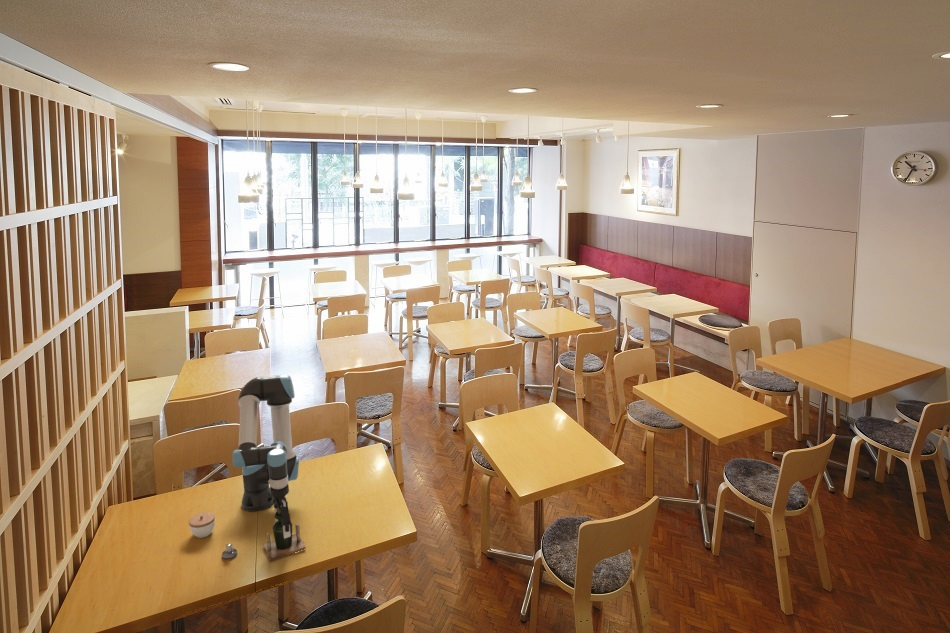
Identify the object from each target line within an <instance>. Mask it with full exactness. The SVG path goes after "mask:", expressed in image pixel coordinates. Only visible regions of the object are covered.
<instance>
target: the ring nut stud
mask: <svg viewBox="0 0 950 633" xmlns="http://www.w3.org/2000/svg"><path fill="white" fill-rule="evenodd" d="M237 556H238V550H237V549H236V548H233V544H232V543H231V542H229V543H227V544H225V550H224V551H223V552H222V553H221V557H222V559H223V560H225V561H227V560H232V559H234V558H235V557H237Z"/></svg>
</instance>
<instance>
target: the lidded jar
mask: <svg viewBox="0 0 950 633" xmlns="http://www.w3.org/2000/svg"><path fill="white" fill-rule="evenodd" d="M215 518H216V517H215V514H214V513H213V512H209V511H208V512H207V511H206V512H205V511H204V512H200V513H197V514H194V515H193V516H191V517H190V518H189V520H188V526H189V530H190V532H191V534H192V535H193V536H195V537H196V538H197V539H198V538H199V539H200V538H201V539H202V538H206V537H208V536H210V534H211V533H212V531H214V528H215V526H216V519H215Z"/></svg>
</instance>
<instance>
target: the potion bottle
mask: <svg viewBox="0 0 950 633" xmlns="http://www.w3.org/2000/svg"><path fill="white" fill-rule="evenodd" d="M276 510H277V512H276V513H275V512H274V519H275V518H276V519H278V521H277V522H274V523H273V525H272V532H273V537H274V540H275V543H276V547H277V548H278V549H281V550H283V549H287V548H289V547H290V546H291V545H292V535H293V523H292V522H291V525H290V533H291V537H288V538H285V539H284V534H283V526H282V524H283V520H282V516H281V511H280V510H279V508H277V509H276Z"/></svg>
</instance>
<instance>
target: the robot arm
mask: <svg viewBox="0 0 950 633" xmlns="http://www.w3.org/2000/svg"><path fill="white" fill-rule="evenodd" d="M295 396H296V395H295V389H294V385H293V380H292V378H291V376H290V375H288V374H277V375H268V376H257V377H254V378H252V379H250V380H249V381H247V383H246V384H245V385H244V386H243V387H242V389H241V391H240V392H239V395H238V398H237V399H238V401H237V404H238V406H239V428H238V445H237V446H238V448H237V449H234V450H233V451H232V465H233V467H234V468H241V474H242V482H243V495H242V499H241V508H242V509H243V510H244V511H246V512H260V511H263V510H266V509H268V508H270V507H271V506H272V505H273V510H274V511H273V512H274V514H275V513H276V512H277V510H276V509H277V508H279V510H280V511H281V516H282V520H283V524H282V526H283V534H284V539H285V538H288V537H291V533H290V525H291V523H292V521H291V515H290V511H289V510H290V509H289V505H288V503H289V502H288V500H287V497H286V496H287V495H288V494H289V493H290V487H289V482H291V481H295V480H297V479H298V478H299V469H300V468H299V466H300V465H299V464H300V456H299V455H297V454H296V451H294V450H293V440H292V430H291V429H292V428H291V416H290V415H291V414H290V404H291V403H292V402H293V399H295ZM265 401H266V404H267V406H269V408H270V416H271V417H270V418H271V428H272V430H271V431H272V441H273V442H272V443H271V444H270V445H267V446H266V445H265V446H260V447H259V446H257V445H258V414H259V413H258V411H259V410H258V409H259V408H258V407H259V406H260V403H261V402H265ZM274 521H275V522H274V523H276V522H277V521H278V519H276V518H275V517H274Z"/></svg>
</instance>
